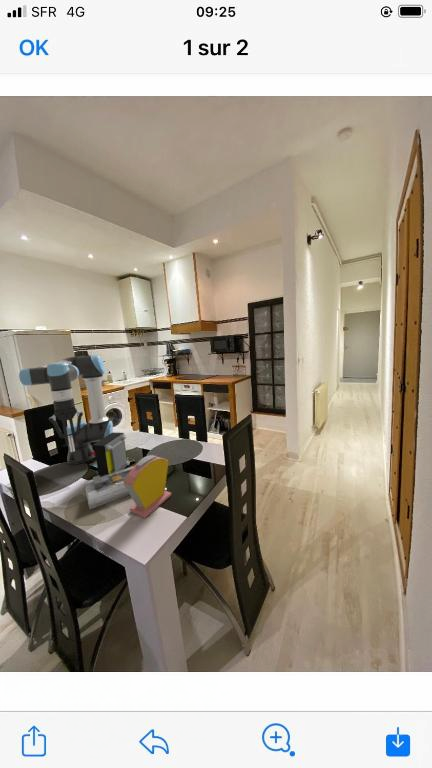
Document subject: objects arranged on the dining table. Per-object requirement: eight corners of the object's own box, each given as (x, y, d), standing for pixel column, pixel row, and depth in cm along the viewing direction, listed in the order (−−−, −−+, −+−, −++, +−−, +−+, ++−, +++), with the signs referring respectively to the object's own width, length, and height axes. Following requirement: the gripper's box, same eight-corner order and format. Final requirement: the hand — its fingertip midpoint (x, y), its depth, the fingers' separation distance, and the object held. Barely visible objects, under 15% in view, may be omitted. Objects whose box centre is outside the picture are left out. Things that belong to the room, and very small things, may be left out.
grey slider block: (94, 486, 118) (92, 477, 117) (107, 481, 121) (106, 473, 121) (96, 493, 112) (94, 484, 111) (110, 488, 115) (109, 479, 115)
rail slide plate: (86, 494, 120) (83, 480, 119) (139, 475, 134) (138, 463, 132) (89, 509, 108) (87, 495, 107) (148, 487, 122) (146, 474, 121)
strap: (101, 482, 120) (101, 479, 119) (134, 473, 128) (134, 469, 128) (103, 489, 114) (103, 485, 114) (137, 478, 123) (137, 475, 122)
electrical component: (113, 481, 129) (107, 445, 126) (96, 480, 132) (90, 445, 128) (131, 464, 146) (126, 432, 143) (115, 464, 148) (111, 432, 145)
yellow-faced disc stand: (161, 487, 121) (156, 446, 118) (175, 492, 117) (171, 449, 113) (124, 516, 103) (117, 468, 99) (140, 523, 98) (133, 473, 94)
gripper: (44, 403, 99) (55, 458, 104) (81, 397, 106) (90, 449, 111) (44, 400, 105) (55, 452, 110) (80, 395, 112) (88, 443, 117)
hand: (72, 450), depth 110 cm, fingers closed
